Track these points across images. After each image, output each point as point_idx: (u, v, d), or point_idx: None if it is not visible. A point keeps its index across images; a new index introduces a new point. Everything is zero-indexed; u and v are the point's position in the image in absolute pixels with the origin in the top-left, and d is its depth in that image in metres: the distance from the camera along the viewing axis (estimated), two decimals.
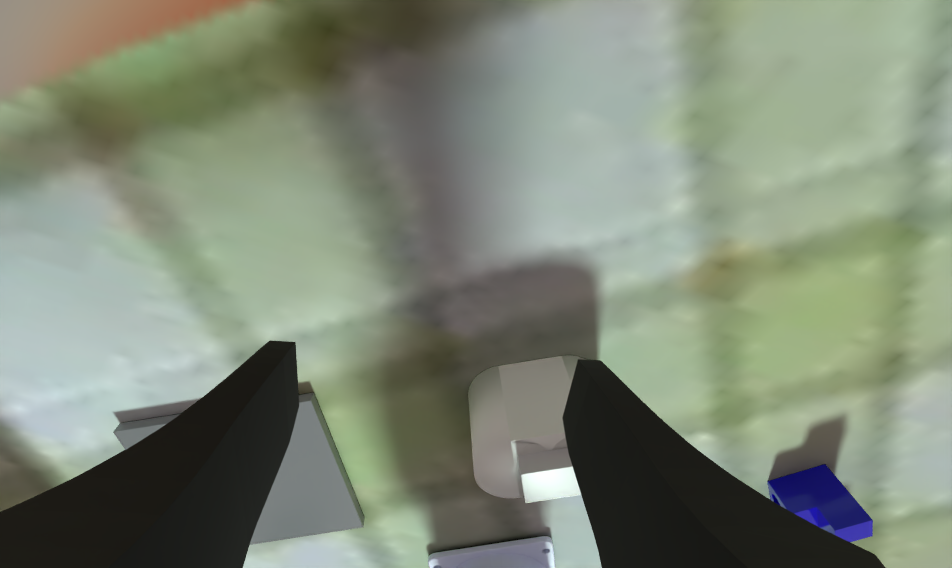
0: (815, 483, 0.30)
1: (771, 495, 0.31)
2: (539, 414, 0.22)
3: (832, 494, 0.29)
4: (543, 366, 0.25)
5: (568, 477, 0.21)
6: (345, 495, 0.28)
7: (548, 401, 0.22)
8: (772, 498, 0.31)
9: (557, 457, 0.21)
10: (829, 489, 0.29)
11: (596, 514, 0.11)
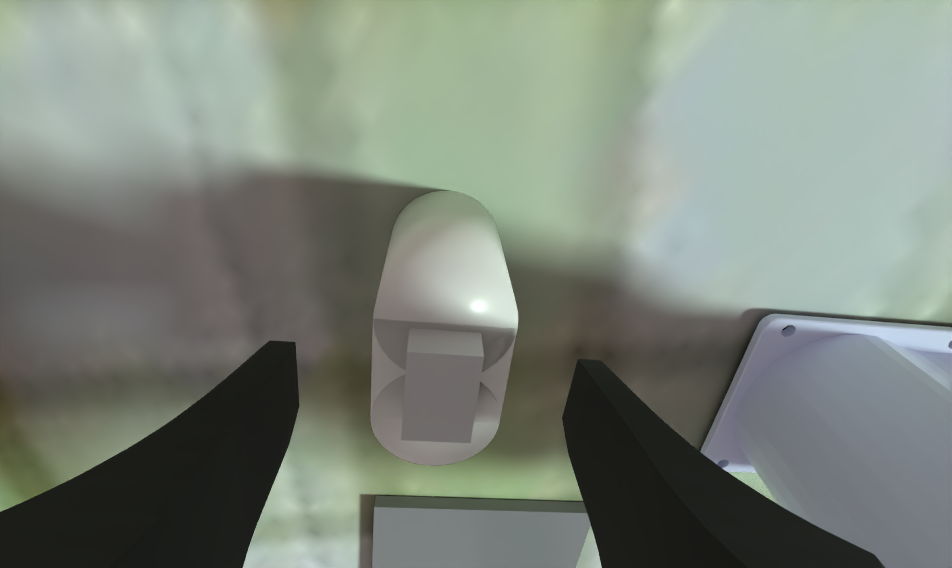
0: None
1: None
2: None
3: None
4: None
5: (429, 383, 0.12)
6: (531, 515, 0.23)
7: None
8: None
9: None
10: None
11: (596, 514, 0.11)
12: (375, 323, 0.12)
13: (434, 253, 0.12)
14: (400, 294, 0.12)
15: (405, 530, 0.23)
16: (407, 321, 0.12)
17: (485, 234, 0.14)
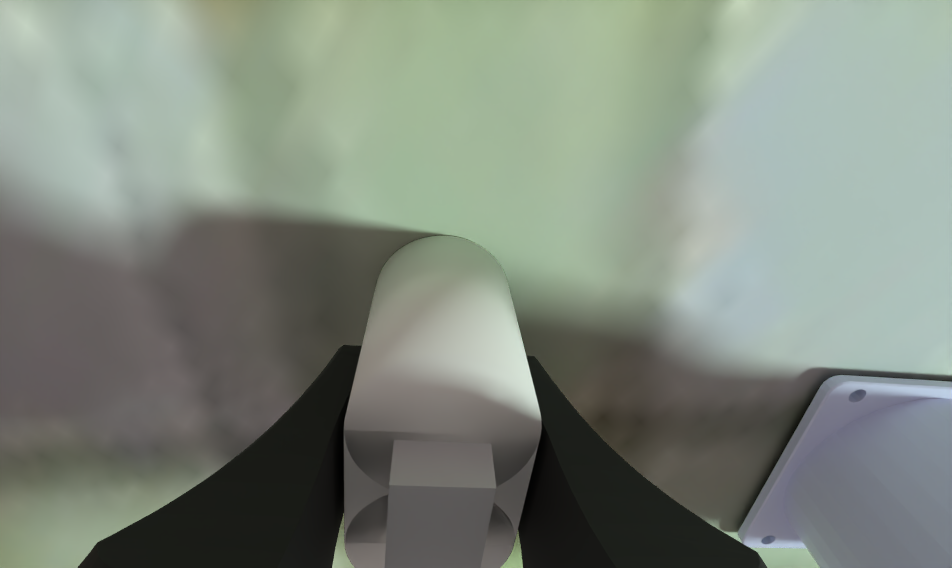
0: None
1: None
2: None
3: None
4: None
5: (421, 521, 0.09)
6: None
7: None
8: None
9: None
10: None
11: None
12: (347, 435, 0.09)
13: (427, 344, 0.09)
14: (380, 399, 0.09)
15: None
16: (391, 432, 0.09)
17: (495, 301, 0.11)
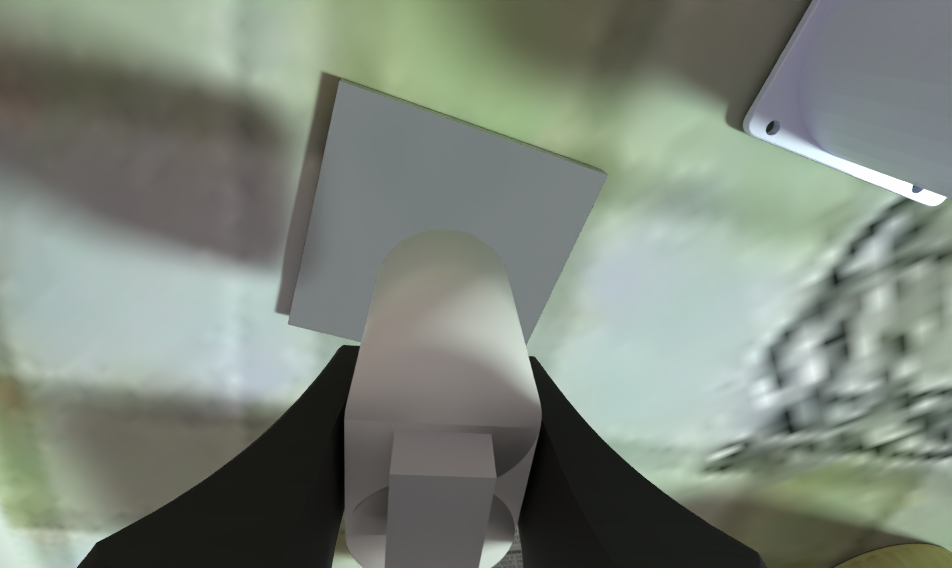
0: None
1: None
2: None
3: None
4: None
5: (422, 511, 0.09)
6: (534, 156, 0.18)
7: None
8: None
9: None
10: None
11: (520, 512, 0.11)
12: (347, 425, 0.09)
13: (428, 334, 0.09)
14: (381, 389, 0.09)
15: (371, 139, 0.17)
16: (392, 422, 0.09)
17: (495, 293, 0.11)
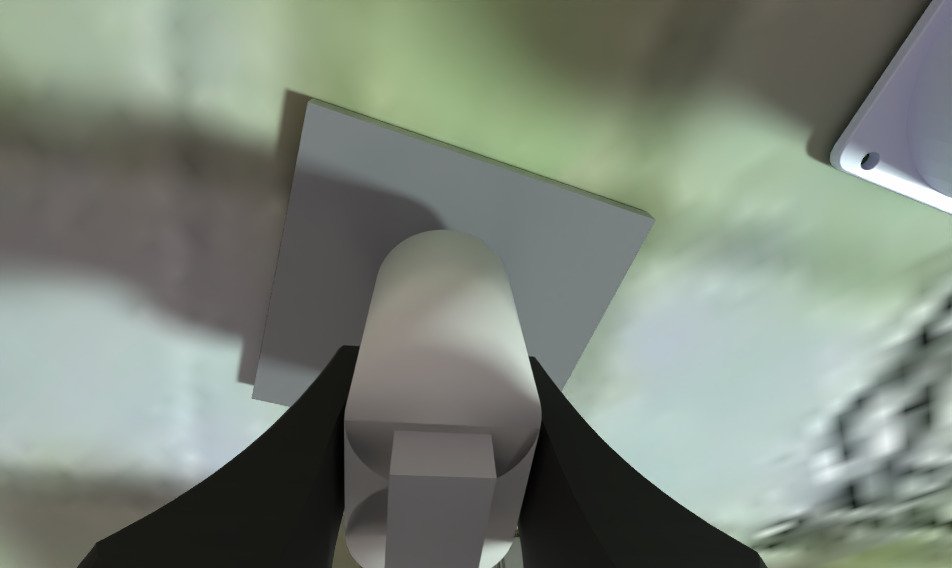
0: None
1: None
2: None
3: None
4: None
5: (422, 511, 0.09)
6: (562, 197, 0.14)
7: None
8: None
9: None
10: None
11: (520, 512, 0.11)
12: (347, 426, 0.09)
13: (428, 335, 0.09)
14: (381, 390, 0.09)
15: (351, 177, 0.13)
16: (392, 423, 0.09)
17: (495, 294, 0.11)
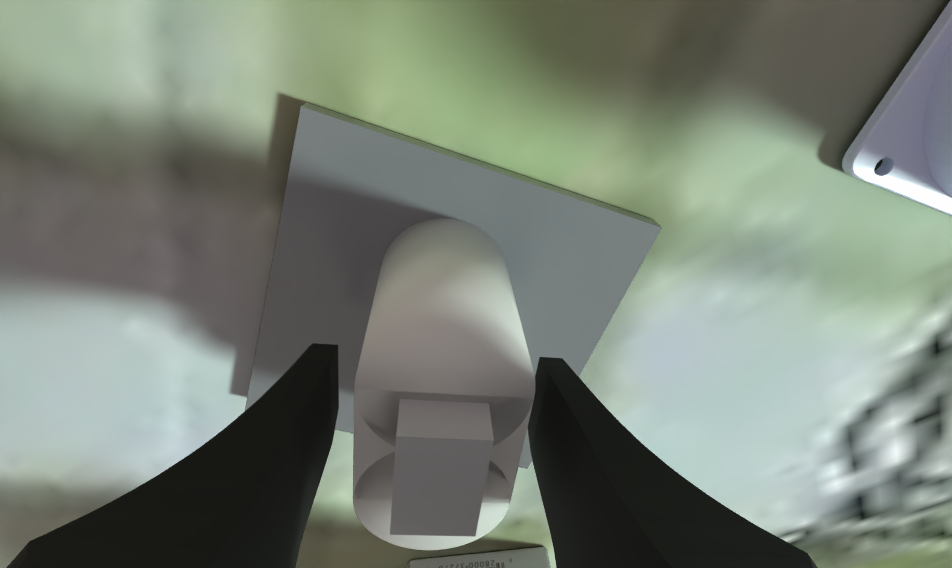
0: None
1: None
2: None
3: None
4: None
5: (425, 472, 0.10)
6: (565, 205, 0.14)
7: None
8: None
9: None
10: None
11: (552, 513, 0.11)
12: (357, 394, 0.10)
13: (431, 310, 0.09)
14: (388, 360, 0.10)
15: (346, 184, 0.13)
16: (398, 391, 0.10)
17: (493, 276, 0.11)
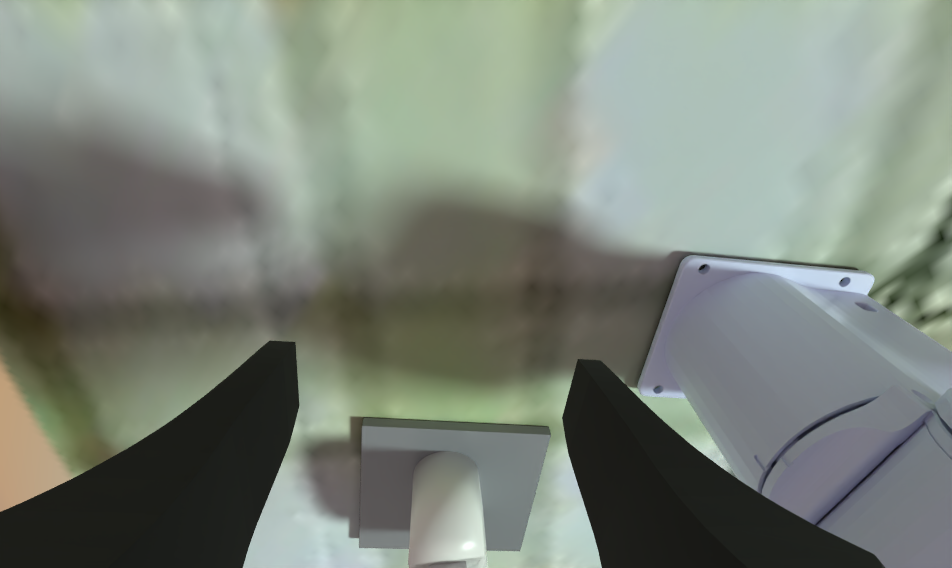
0: None
1: None
2: None
3: None
4: None
5: None
6: (497, 435, 0.27)
7: None
8: None
9: None
10: None
11: (596, 514, 0.11)
12: (410, 567, 0.24)
13: (432, 532, 0.23)
14: (419, 554, 0.23)
15: (389, 448, 0.27)
16: (426, 563, 0.23)
17: (462, 495, 0.25)
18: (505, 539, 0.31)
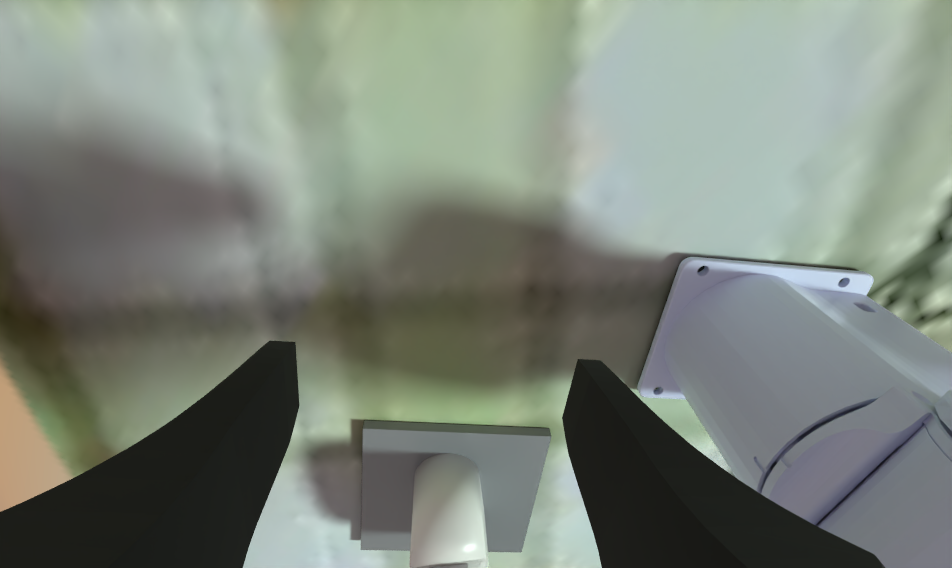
0: None
1: None
2: None
3: None
4: None
5: None
6: (497, 437, 0.27)
7: None
8: None
9: None
10: None
11: (596, 514, 0.11)
12: None
13: (433, 535, 0.23)
14: (421, 556, 0.23)
15: (390, 451, 0.27)
16: (428, 565, 0.24)
17: (462, 497, 0.25)
18: (506, 540, 0.31)
